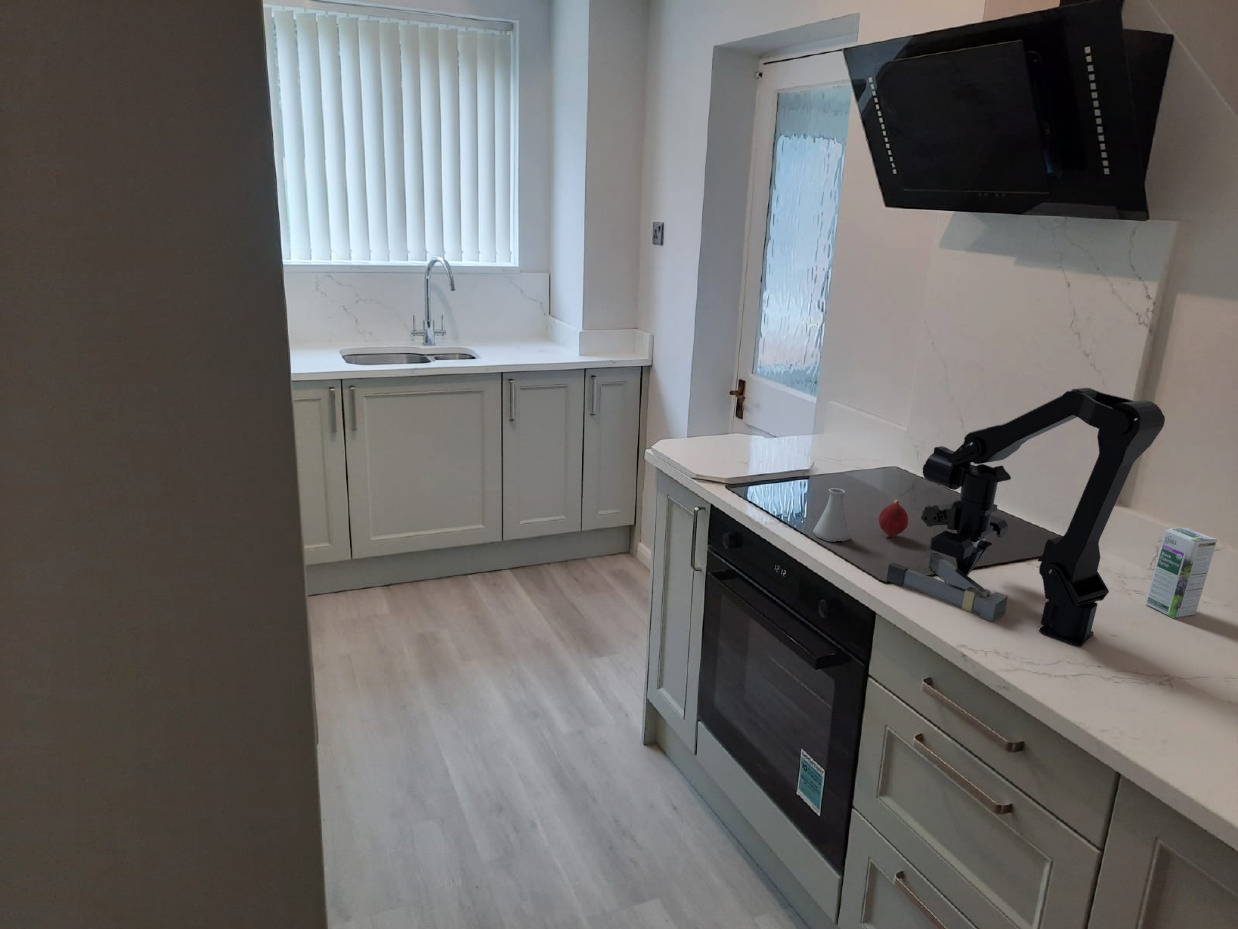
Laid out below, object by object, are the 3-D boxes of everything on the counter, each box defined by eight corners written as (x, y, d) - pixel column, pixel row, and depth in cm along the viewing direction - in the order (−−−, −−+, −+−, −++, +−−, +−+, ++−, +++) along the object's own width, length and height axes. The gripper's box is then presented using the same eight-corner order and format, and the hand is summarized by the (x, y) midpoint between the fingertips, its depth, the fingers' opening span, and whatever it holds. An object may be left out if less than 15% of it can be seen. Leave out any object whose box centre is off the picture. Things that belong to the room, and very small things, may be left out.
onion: (906, 543, 173) (912, 506, 171) (877, 540, 174) (883, 503, 172) (903, 533, 179) (909, 497, 176) (875, 530, 180) (880, 494, 177)
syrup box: (1143, 604, 151) (1163, 528, 147) (1167, 600, 153) (1187, 525, 149) (1173, 619, 146) (1194, 541, 142) (1197, 615, 148) (1219, 538, 144)
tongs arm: (990, 609, 145) (993, 592, 144) (981, 610, 145) (984, 593, 144) (936, 567, 162) (939, 552, 161) (927, 567, 161) (930, 552, 160)
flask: (856, 541, 173) (863, 494, 170) (826, 544, 170) (832, 497, 168) (835, 528, 180) (841, 483, 177) (806, 531, 177) (812, 486, 174)
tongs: (1004, 612, 145) (1008, 593, 144) (992, 622, 141) (996, 602, 140) (898, 574, 158) (901, 556, 157) (884, 581, 155) (887, 563, 154)
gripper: (957, 475, 162) (944, 550, 167) (908, 496, 150) (896, 576, 155) (1016, 492, 155) (1000, 570, 160) (970, 515, 142) (954, 599, 147)
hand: (962, 578), depth 156 cm, fingers closed
